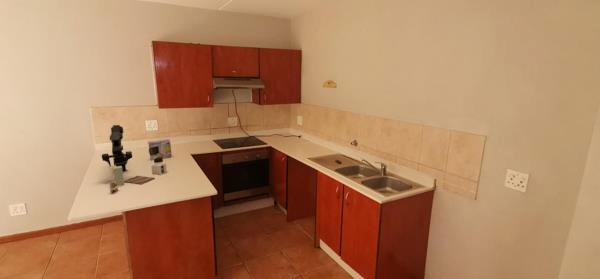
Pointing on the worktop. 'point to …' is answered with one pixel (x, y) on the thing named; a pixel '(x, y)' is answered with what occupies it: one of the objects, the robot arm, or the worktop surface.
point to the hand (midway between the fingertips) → (118, 165)
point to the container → (158, 166)
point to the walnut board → (139, 180)
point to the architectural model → (113, 186)
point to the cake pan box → (160, 148)
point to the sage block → (118, 175)
